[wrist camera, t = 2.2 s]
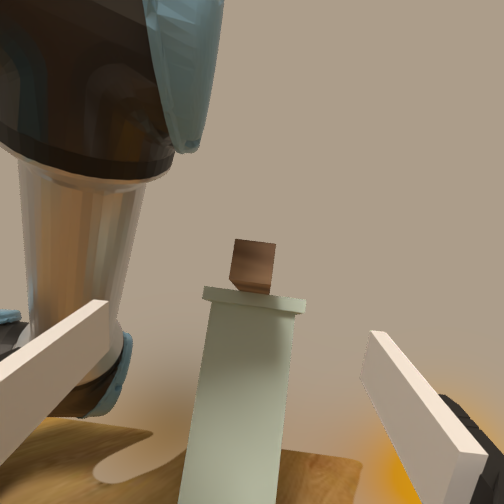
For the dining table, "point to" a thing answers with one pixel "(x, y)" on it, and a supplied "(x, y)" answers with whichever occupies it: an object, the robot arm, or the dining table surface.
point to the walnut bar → (252, 266)
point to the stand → (240, 399)
